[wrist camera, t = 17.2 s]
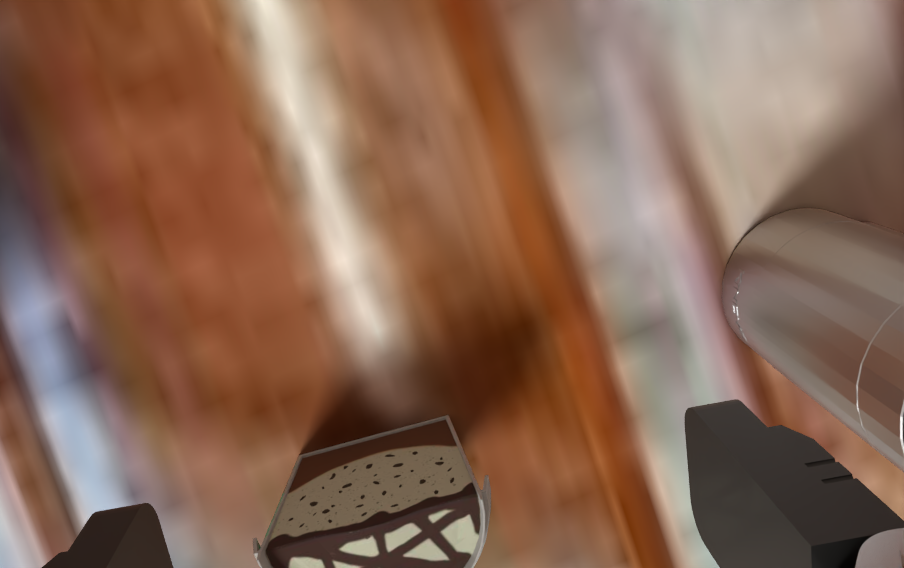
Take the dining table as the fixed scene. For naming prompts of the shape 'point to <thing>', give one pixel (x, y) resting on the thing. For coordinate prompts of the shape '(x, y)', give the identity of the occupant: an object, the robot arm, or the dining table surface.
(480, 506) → the food container
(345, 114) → the dining table surface
